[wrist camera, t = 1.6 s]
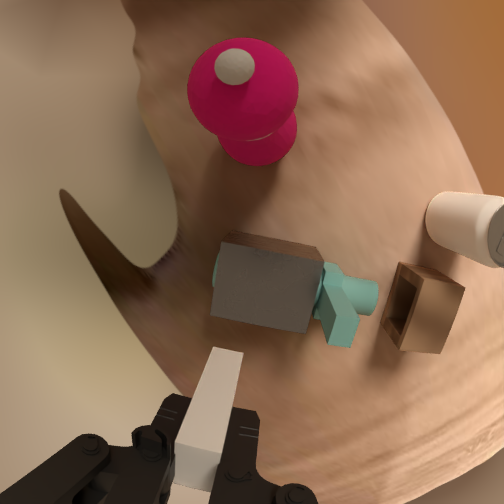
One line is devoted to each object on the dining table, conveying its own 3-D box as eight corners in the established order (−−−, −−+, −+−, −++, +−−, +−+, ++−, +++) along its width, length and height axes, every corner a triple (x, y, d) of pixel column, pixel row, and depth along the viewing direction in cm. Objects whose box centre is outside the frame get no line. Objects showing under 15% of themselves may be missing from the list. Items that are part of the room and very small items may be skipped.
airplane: (217, 285, 33) (188, 332, 22) (224, 241, 32) (196, 271, 21) (360, 312, 32) (391, 365, 21) (372, 271, 31) (413, 311, 20)
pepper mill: (284, 176, 31) (295, 160, 11) (217, 159, 31) (130, 123, 12) (301, 112, 29) (334, 15, 10) (235, 96, 29) (181, -9, 10)
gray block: (232, 230, 33) (221, 241, 26) (315, 246, 32) (324, 261, 26) (222, 291, 34) (209, 315, 28) (300, 307, 34) (305, 333, 27)
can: (472, 204, 29) (537, 216, 18) (454, 253, 31) (515, 282, 19) (434, 181, 29) (498, 184, 18) (415, 233, 31) (474, 258, 19)
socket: (399, 261, 32) (424, 279, 25) (436, 270, 32) (465, 287, 25) (380, 322, 33) (399, 350, 27) (417, 327, 33) (440, 353, 27)
